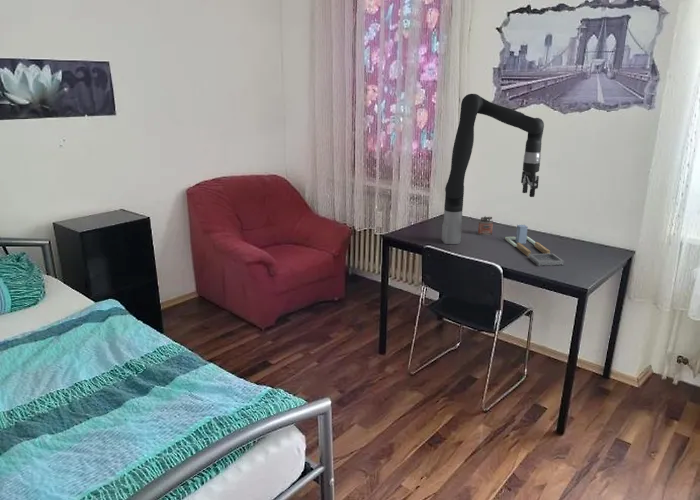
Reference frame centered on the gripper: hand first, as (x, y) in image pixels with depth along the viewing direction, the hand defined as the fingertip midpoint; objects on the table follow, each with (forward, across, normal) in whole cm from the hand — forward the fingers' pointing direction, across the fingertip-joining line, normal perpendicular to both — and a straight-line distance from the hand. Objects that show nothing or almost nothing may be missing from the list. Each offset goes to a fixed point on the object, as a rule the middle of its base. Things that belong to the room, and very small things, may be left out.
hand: (528, 194), depth 250 cm
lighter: (+28, -28, -10) cm, 41 cm away
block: (+28, -12, +4) cm, 31 cm away
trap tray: (+28, +18, +4) cm, 34 cm away
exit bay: (+28, -11, +4) cm, 30 cm away
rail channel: (+28, +3, +4) cm, 29 cm away
